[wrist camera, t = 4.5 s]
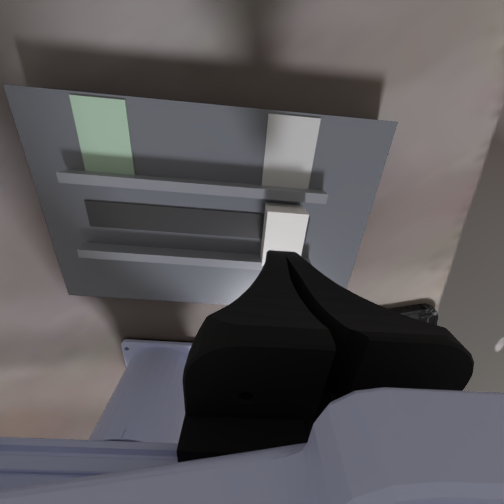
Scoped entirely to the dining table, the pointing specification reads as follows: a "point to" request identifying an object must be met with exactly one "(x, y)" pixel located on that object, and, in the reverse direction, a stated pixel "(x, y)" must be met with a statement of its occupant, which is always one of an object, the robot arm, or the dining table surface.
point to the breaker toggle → (283, 228)
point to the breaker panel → (191, 189)
